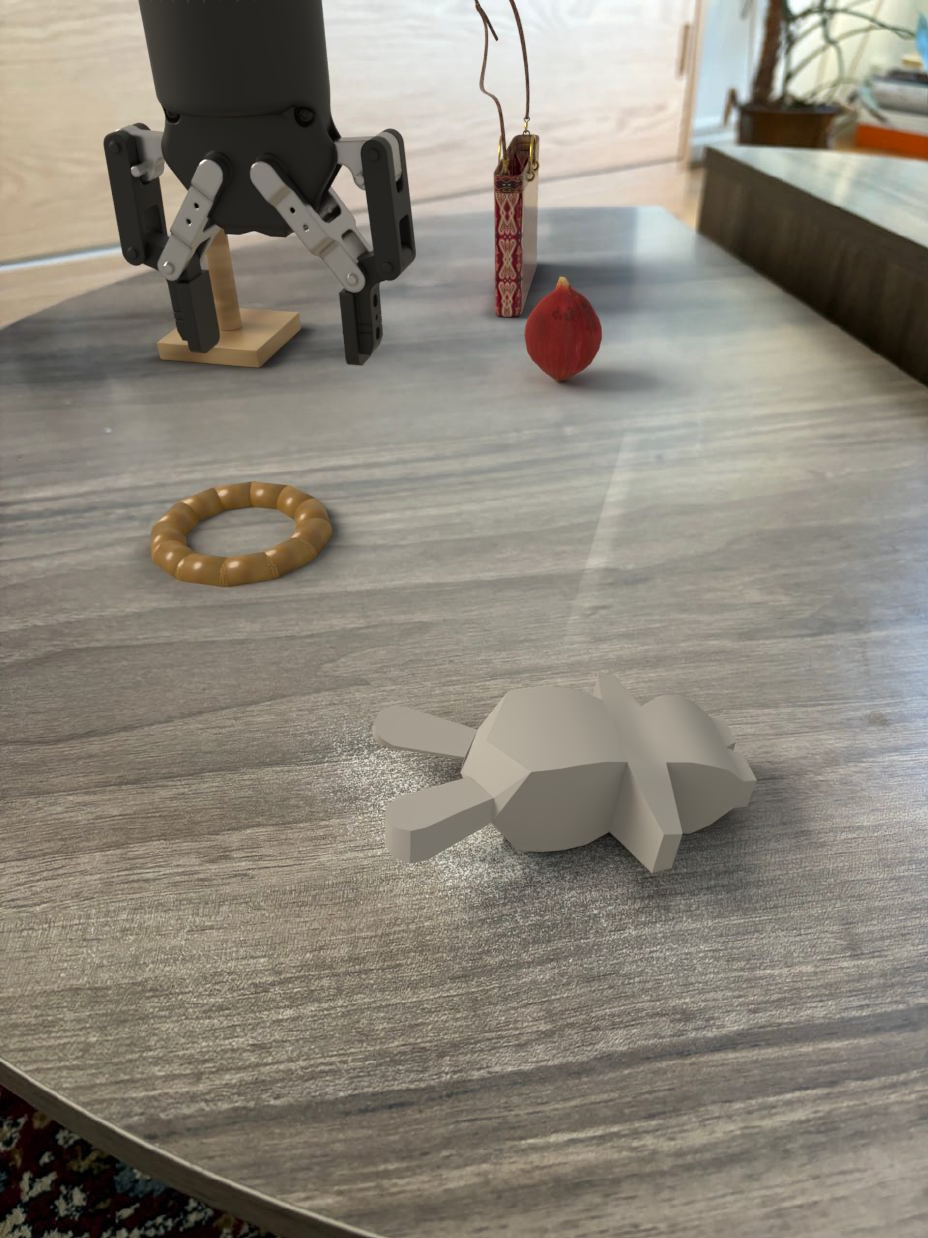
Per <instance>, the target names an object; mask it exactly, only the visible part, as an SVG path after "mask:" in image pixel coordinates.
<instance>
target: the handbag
mask: <svg viewBox="0 0 928 1238" xmlns="http://www.w3.org/2000/svg"><path fill="white" fill-rule="evenodd" d="M508 1H509V5H510V6H511V9H512V13H513V15H514V19H515V22H516V27H517V31H518V36H519V40H520V41H519V42H520V46H521V47H520V48H521V52H522V60H523V67H524V68H523V69H524V77H525V78H524V79H525V99H526V100H525V115H524V117H523V122H524V130H523V131H522V134H516V135H514V136H513V137H512V139H511V140H510V143H509V144H508V146H507V141H506V130H505V123H504V122H505V121H504V115H503V109H502V105H501V103H500V101H499V99H498V98H497V97H496V96H495V94H492V93H490V92H488V91H487V90H486V89H485V83H484V82H485V76H486V69H487V61H488V55H489V54H488V53H489V52H488V51H489V30H490V32H491V35H492V36H493V39H494V40H495V42H498V41H499V37H498V34H497V33H496V31H495V29H494V27H493V24H492V23H491V20H490V19H489V16H488V15H487V13H486V12H485V10H484V9H483V8H482V6H481V3H480V1H479V0H474V7H475V10H476V12H477V13H478V14H479V15H480V18H481V21H482V24H483V28H484V29H483V30H484V51H483V59H482V65H481V66H482V67H481V71H480V77H479V83H478V84H479V85H478V87H479V90H480V92H482V93H483V94H484V95H487V96H488V97H490V98H491V99H492V100H493V101H494V103H495V106H496V108H497V112H498V118H499V126H500V127H499V128H500V136H499V140H498V149H497V166H496V167H495V168H494V171H493V175H492V176H493V216H494V219H493V221H494V223H493V225H494V228H493V229H494V314H495V315H496V316H498V317H501V318H502V317H503V318H504V317H505V318H516V317H520V316H521V315H522V313H523V312H524V308H525V305H526V301H527V298H528V295H529V291H530V288H531V285H532V283H533V279H534V276H535V273H536V270H537V267H538V211H539V208H538V207H539V171H540V170H539V169H540V163H539V162H540V135H538V134H533V133H532V134H531V132H530V131H529V129H528V128H529V122H530V120H531V118H530V101H531V100H530V98H531V97H530V96H531V95H530V93H531V92H530V72H529V71H530V70H529V61H528V52H527V45H526V40H525V34H524V27H523V23H522V21H521V20H522V19H521V17H520V12H519V10H518V7H517V5H516V2H515V0H508ZM501 156H502V157H501Z"/></svg>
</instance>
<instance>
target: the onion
mask: <svg viewBox="0 0 928 1238" xmlns="http://www.w3.org/2000/svg"><path fill="white" fill-rule="evenodd" d="M555 285H556V286H555V289H554V290H553V291H551V292H550V293H548V294H547V295H545V296H544V297H543V298H542V299H540V301H539V302H537V304H536V305H535V307H534V308H533V309H532V310H531V312H530V314H529V315H528V317H527V320H526V323H525V326H524V334H523V335H524V341H525V347H526V352H527V354H528V356H529V357H530V359H531V360H532V362H533V363H534V364H535V365H537V367H538V368H539V369H540V370H541V371H542V372H544V373H545V374H546V375H547V376H548V377H550V378H551V379H553V380H554V381H555V382H556V383H557V382H558V383H561V382H565V381H567V380H569V379H570V378H572V377H574V376H575V375H577V374H579V373H581V372H582V371H584V370H585V369H586V368H588V367H589V366H590V365H591V364H592V363H593V361H594V359H595V357H596V356H597V354H598V353H599V351H600V348H601V344H602V341H603V340H602V339H603V327H602V324H601V320H600V318H599V316H598V314H597V312H596V311H595V309H594V307H593V305H592V303H591V302H590V301H589V300H588V298H587V297H586V296H584V295H583V294H582V293H580V292H579V291H577V290H575V288H574V287H573V286H572V284H570V282H569V280H568V278H567V277H565V276H559V277H558V281H557V283H556V284H555Z"/></svg>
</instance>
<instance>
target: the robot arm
mask: <svg viewBox="0 0 928 1238" xmlns="http://www.w3.org/2000/svg"><path fill="white" fill-rule="evenodd" d="M137 1H138V6H139V11H140V16H141V21H142V26H143V32H144V37H145V43H146V49H147V54H148V58H149V64H150V69H151V74H152V80H153V85H154V86H153V87H154V90H155V96H156V99H157V101H158V103H159V105H160V106H161V108H162V111H163V114H164V128H163V131H159V130H152V129H151V128H150V127H149V126H148V125H146V123H143V122H135V123H132V124H129V125H125V126H123V127H120V128H118V129H115V131H112V132H110V133H107V134H106V135H105V136H104V138H103V141H102V142H103V143H102V144H103V150H104V157H105V162H106V169H107V173H108V179H109V180H108V181H109V185H110V191H111V196H112V202H113V208H114V214H115V215H114V216H115V220H116V226H117V232H118V237H119V242H120V243H119V244H120V249H121V254H122V257H123V259H124V260H125V261H126V263H128V264H129V265H131V266H134V267H138V266H141V265H144V266H147V267H149V268H151V269H153V270H155V271H157V272H159V274H160V275H161V276H162V278H164V279H165V280H166V282H167V287H168V293H169V298H170V302H171V307H172V312H173V318H174V319H175V320H174V322H175V328H177V331H178V333H179V335H180V337H181V338H182V340H183V341H187V342H188V347H189V350H190V351H191V352H193V353H207V352H208V351H209V350H211V349H212V348H213V347H214V346H215V345H217V344H218V342H219V339H220V330H219V325H218V319H217V313H216V308H215V302H214V297H213V291H212V285H211V280H210V274H209V270H208V269H202V265H201V264H202V262H203V260H204V259H205V258H206V253H207V251H208V249H209V247H210V245H211V243H212V241H213V239H214V237H215V236H216V234H217V233H218V232H219V231H220V230H221V229H224V233H225V234H227V235H231V236H241V235H245V234H249V233H253V232H255V233H258V234H261V235H264V236H267V237H271V238H284V239H285V238H288V237H289V236H290V235H291V234H295V235H296V236H297V238H298V239H299V240H300V242H301V243H302V244H303V245H304V246H305V248H306V249H307V251H309V252H310V254H312V255H313V256H315V257H318V258H320V259H321V260H322V261H323V263H324V264H325V265H326V266H327V268H328V269H329V270H330V272H331V274H333V276H334V277H335V278H336V280H337V281H338V282H339V283H340V284H341V286H342V287H343V288H342V289H341V291H339V293H338V297H339V298H338V299H339V307H340V309H339V310H340V317H341V319H340V320H341V327H342V339H343V346H344V357H345V363H346V364H347V365H349V366H359V367H361V366H362V367H363V366H364V364H365V363H366V362H367V361H368V360H369V359H370V357H372V354H373V353H374V352H375V351H376V350H377V348H378V347H379V346H380V345H381V342H382V339H383V336H384V331H383V330H384V329H383V328H384V327H383V317H382V305H381V303H382V302H381V290H380V287H381V283H382V282H385V281H387V282H393V281H395V280H396V279H398V278H399V277H400V276H401V274H403V272H404V271H406V269H407V268H408V267H410V265H412V263H414V261H415V260H416V257H417V248H416V239H415V232H414V222H413V212H412V211H413V210H412V203H411V194H410V185H409V175H408V167H407V158H406V157H407V156H406V148H405V141H404V137H403V136H402V134H401V133H400V132H399V131H398V130H396V129H395V128H386V129H384V130H382V131H381V132H378V133H377V134H376V135H369V136H367V135H366V136H346V137H345V136H344V137H343V136H342V135H341V134H340V131H339V130H338V128H337V126H336V124H335V121H334V119H333V115H332V109H331V107H332V106H331V80H330V70H329V62H328V50H327V49H328V48H327V39H326V29H325V17H324V9H323V8H324V7H323V0H137ZM165 164H166V165H167V167H168V168H169V169H170V171H171V172H172V173H173V175H174V176H176V178H177V180H179V182H180V183H181V185H182V186H183V187H184V189H185V190H186V191H187V193H186V194H185V197H184V199H183V201H182V203H181V205H180V207H179V209H178V211H177V213H176V216H175V217H174V219H173V222H172V224H171V225H170V228H169V232H170V235H168V228H167V221H166V214H165V207H164V200H163V194H162V193H163V192H162V186H161V180H160V177H161V176H162V175H163V174H164V172H165ZM342 167H345V168H346V169H348V171H349V172H350V174H351V176H352V180H353V183H354V184H355V185H356V187H357V188H358V189H360V190H361V191H364V192H365V199H366V206H367V213H368V221H369V222H368V223H369V227H370V228H369V229H370V236H371V243H372V244H371V245H372V246H371V245H370V243H368V241H367V239H366V238H365V236H363V235H362V233H361V231H360V230H359V228H358V227H357V221H356V218H355V216H354V214H353V213H352V212H351V210H350V209H349V208H348V206H347V205H346V204H345V203H344V201H343V200H342V199H341V197H340V196H339V194H338V193H337V192H336V191H335V189H334V188H333V187H332V185H333V184H334V182H335V180H336V178H337V176H338V174H339V173H340V172H341V169H342Z"/></svg>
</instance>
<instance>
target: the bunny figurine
mask: <svg viewBox="0 0 928 1238" xmlns="http://www.w3.org/2000/svg"><path fill="white" fill-rule="evenodd" d="M593 688H594V689H593V693H592V694H590V693H588V692H586V691H583V690H581V689H576V688H569V687H561V686H530V687H524V688H517V689H512V690H508V691H506V693H504V695H503V697H502V698H501V699H500V700H499V702H498V703H497V704H496V706H495V707H494V708H493V709H492V711H491V712H490V713H489V715H488V716H487V717H486V718H485V720H484V721H483V722H482V723H481V725H479V727H478V728H477V729H476V728H473V727H471V726H468V725H465V724H461V723H458V722H455V721H453V720H449V719H446V718H443V717H440V716H436V715H433V714H430V713H427V712H423V711H421V710H417V709H413V708H411V707H405V706H399V705H394V704H393V705H391V706H388V707H385V708H384V709H382V710H380V711H379V712H378V714H377V716H376V718H375V720H374V721H373V726H372V732H371V733H372V737H373V739H374V741H375V742H376V743H377V744H378V745H379V746H382V747H385V748H388V749H391V750H397V751H402V752H403V751H404V752H410V753H417V754H424V755H429V756H435V757H441V758H448V759H454V760H459V761H462V763H461V767H460V775H461V776H462V777H461V778H459V779H456V780H452V781H449V782H445V783H442V784H439V785H435V786H431V787H427V788H424V789H423V788H422V789H421V790H417V791H413V792H409V793H406V794H402V795H399V796H398V797H396V798H395V799H393V800H392V801H390V802H388V804H387V806H386V808H385V811H384V820H385V821H384V846H385V848H386V850H387V851H388V853H389V854H390V855H391V856H392V858H393V859H395V860H398V861H401V862H405V863H407V864H409V865H411V864H416V863H419V862H423V861H428V860H430V859H432V858H433V857H436V856H437V855H439V854H440V853H442V852H444V851H445V850H447V849H449V848H452V847H453V846H454V845H456V844H458V843H459V842H461V841H463V840H465V839H467V838H468V837H470V836H471V835H473V834H474V833H477V832H478V831H480V830H482V829H483V828H485V827H487V826H488V825H490V824H492V825H493V826H494V827H495V829H496V830H498V832H499V833H500V834H501V835H503V837H504V838H505V839H506V840H507V842H508V843H509V844H510V845H512V847H513V848H514V849H515V850H516V851H520V852H521V851H523V852H535V853H544V852H557V851H565V850H569V849H573V848H578V847H582V846H586V845H589V844H590V843H593V842H594V841H595V840H597V839H599V838H601V837H603V836H605V835H606V834H608V833H610V834H611V835H612V836H613V837H614V838H615V839H616V840H617V841H618V842H620V844H622V846H624V847H625V849H626V850H628V851H629V852H630V853H631V854H632V855H633V856H634V857H635V858H636V859H637V860H638V861H639V862H640V863H641V864H642V865H643V866H644V867H645V868H646V869H647V870H648V871H649V872H650V873H651V874H653V873H657V872H662V871H666V870H670V869H672V868H673V865H674V863H675V860H676V856H677V853H678V850H679V847H680V844H681V840H682V837H683V834H688V835H690V834H692V833H695V832H697V831H700V830H701V829H704V828H706V827H709V826H711V825H712V824H714V823H715V822H717V821H718V820H719V819H721V818H722V817H723V816H725V815H726V814H728V813H729V812H730V811H732V810H733V809H737V808H738V809H739V808H748V805H749V803H750V800H751V798H752V795H753V793H754V789H755V786H756V785H757V781H758V780H757V778H756V775H755V774H754V772H753V770H752V769H751V766H750V765H749V763H748V761H747V759H746V757H745V756H744V754H743V752H741V751H739V750H736V749H735V746H736V743H737V740H736V738H735V736H734V735H733V733H732V730H731V729H730V727H729V725H728V723H727V722H726V720H725V717H724V716H723V715H722V716H721V715H719V716H718V715H717V716H713V715H711V716H710V715H709V714H708V713H706V712H705V710H704V709H702V708H701V707H700V706H699V705H698V703H696V702H695V701H693V700H691V699H688V698H686V697H684V696H682V695H680V694H677V693H676V694H662V695H661V694H660V695H658V696H656V697H655V698H653V699H651V700H650V701H649V700H648V702H646V703H644V704H642V705H641V704H640V703H639V702H638V701H637V700H636V699H635V697H634V696H633V695H632V694H631V693H630V691H629V690H628V689H627V687H625V685H624V684H623V683H622V682H621V681H620V679H619V678H618V677H617V675H615V674H611V673H605V672H599V671H598V672H597V675H596V679H595V683H594V687H593Z"/></svg>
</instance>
